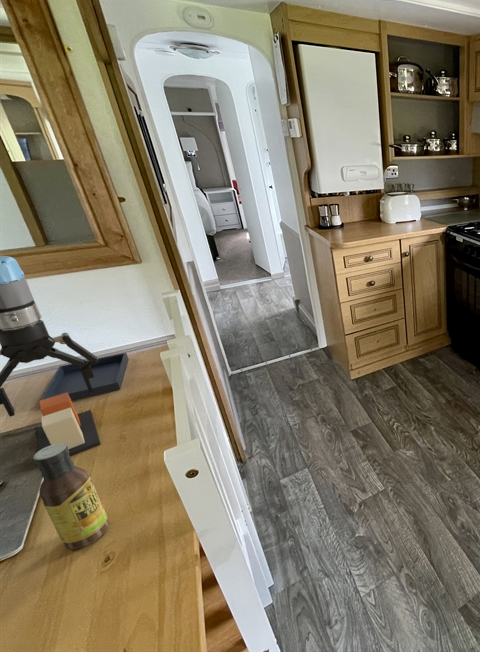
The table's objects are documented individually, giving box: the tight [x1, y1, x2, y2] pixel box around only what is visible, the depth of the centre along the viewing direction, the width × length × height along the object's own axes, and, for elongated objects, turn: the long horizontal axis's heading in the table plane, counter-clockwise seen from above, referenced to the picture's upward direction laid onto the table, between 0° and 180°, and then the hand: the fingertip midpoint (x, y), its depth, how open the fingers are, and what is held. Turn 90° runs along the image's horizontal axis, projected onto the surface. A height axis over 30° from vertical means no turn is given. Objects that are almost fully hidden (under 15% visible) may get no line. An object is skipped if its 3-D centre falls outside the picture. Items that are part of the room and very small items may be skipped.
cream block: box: [40, 408, 85, 449], centre depth 90 cm, size 5×5×8 cm
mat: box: [36, 409, 102, 457], centre depth 94 cm, size 10×18×1 cm, turn 48°
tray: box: [39, 352, 129, 402], centre depth 115 cm, size 21×16×3 cm
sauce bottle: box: [32, 443, 109, 550], centre depth 67 cm, size 6×6×20 cm
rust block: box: [38, 392, 81, 426], centre depth 95 cm, size 5×5×8 cm
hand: (53, 401), depth 94 cm, fingers open, 13 cm apart
